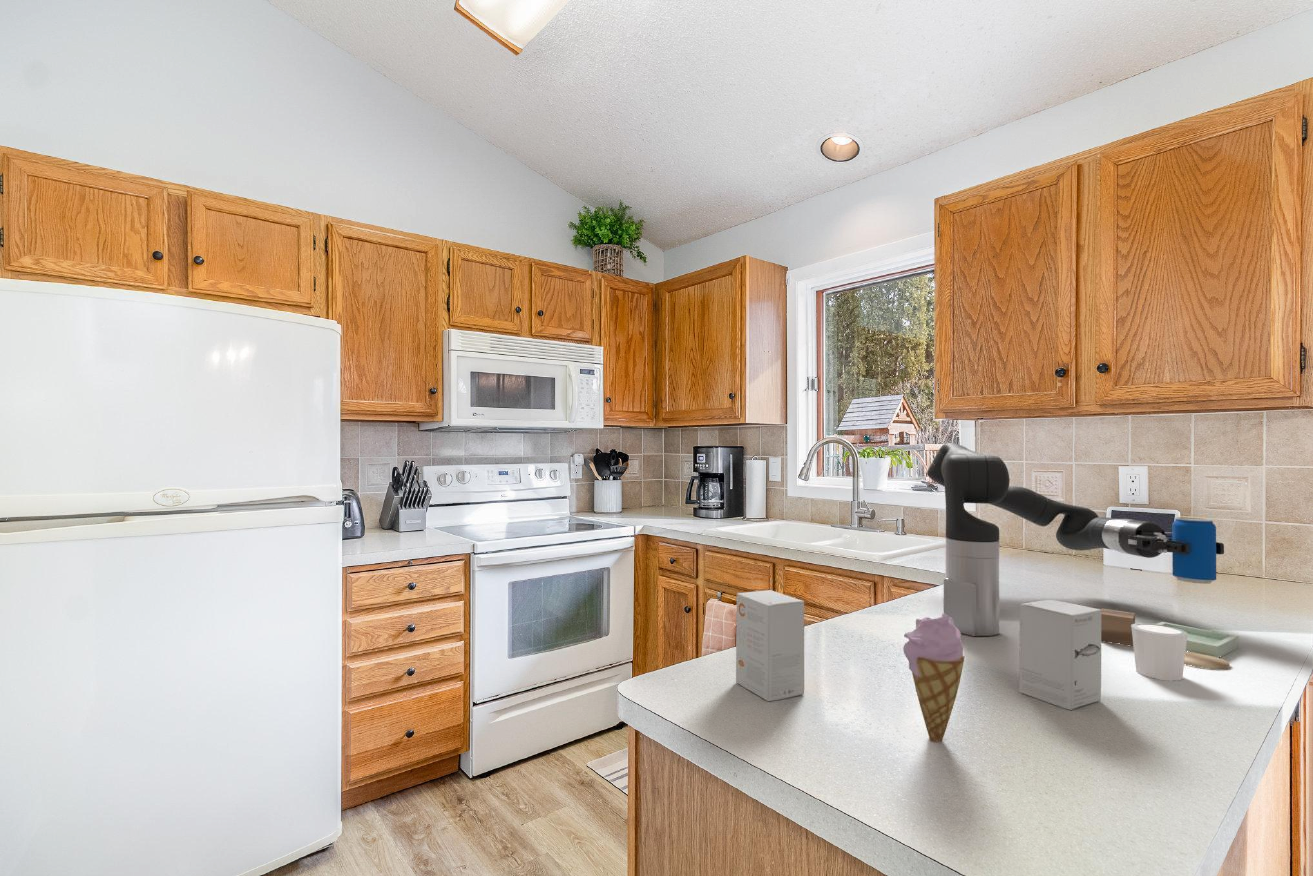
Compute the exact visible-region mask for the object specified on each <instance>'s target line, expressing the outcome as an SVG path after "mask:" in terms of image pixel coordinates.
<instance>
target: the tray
mask: <svg viewBox="0 0 1313 876" xmlns="http://www.w3.org/2000/svg"><path fill="white" fill-rule="evenodd" d="M1155 624H1156V625H1163V626H1168V627H1173V628H1177V629H1180V630H1183V631H1185V632H1187V643H1186V651H1188V652H1195V653H1201V654H1206V655H1210V656H1214V657H1217V658H1219V657H1220V656H1222V657H1223V655H1224V656H1225V655H1227V654H1229V653H1231V652H1233V651H1235V650H1237V649H1239V645H1240V644H1239V635H1235V634H1229V633H1224V632H1219V631H1214V630H1209V629H1203V628H1197V627H1192V626H1186V625H1181V624H1177V623H1171V622H1166V621H1161V622H1157V623H1155ZM1228 652H1229V653H1228ZM1220 658H1221V657H1220Z"/></svg>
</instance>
